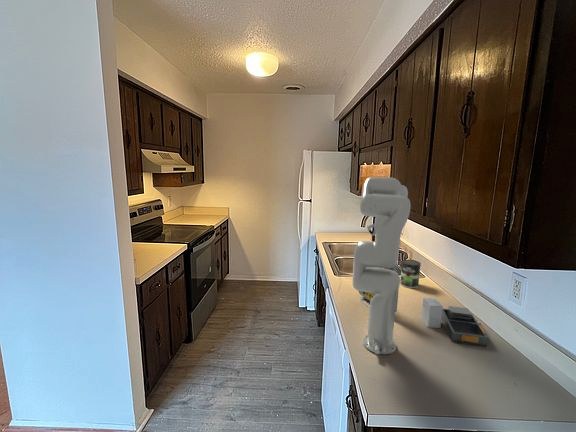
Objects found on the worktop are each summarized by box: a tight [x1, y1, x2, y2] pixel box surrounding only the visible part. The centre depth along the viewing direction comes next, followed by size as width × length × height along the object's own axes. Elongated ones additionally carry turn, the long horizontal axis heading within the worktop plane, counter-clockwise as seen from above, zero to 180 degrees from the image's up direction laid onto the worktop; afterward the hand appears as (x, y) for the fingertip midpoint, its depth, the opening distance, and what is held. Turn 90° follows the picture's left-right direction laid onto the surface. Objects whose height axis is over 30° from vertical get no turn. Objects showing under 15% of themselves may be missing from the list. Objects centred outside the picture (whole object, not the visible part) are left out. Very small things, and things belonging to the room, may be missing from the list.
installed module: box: [447, 305, 473, 322], centre depth 136 cm, size 6×8×6 cm
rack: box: [441, 308, 489, 348], centre depth 131 cm, size 22×13×4 cm, turn 165°
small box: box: [420, 297, 444, 329], centre depth 136 cm, size 8×6×10 cm
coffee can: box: [400, 259, 422, 289], centre depth 179 cm, size 10×10×14 cm
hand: (383, 243), depth 156 cm, fingers open, 9 cm apart
